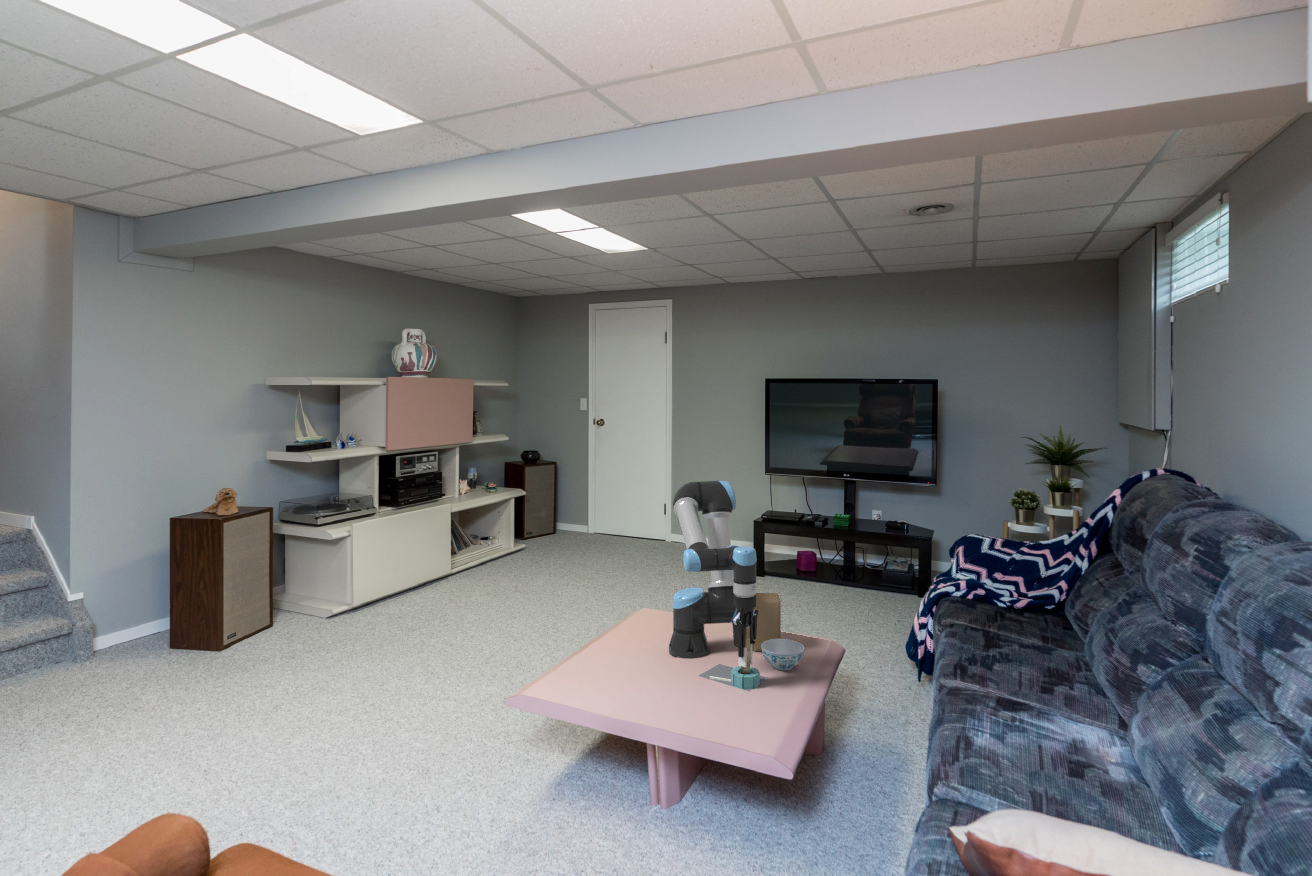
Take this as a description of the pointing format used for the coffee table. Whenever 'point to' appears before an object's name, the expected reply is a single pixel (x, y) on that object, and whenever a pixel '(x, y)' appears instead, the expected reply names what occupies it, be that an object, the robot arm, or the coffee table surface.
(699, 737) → the coffee table surface
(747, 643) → the wooden rod
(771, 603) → the wooden block
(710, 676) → the white stick
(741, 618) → the robot arm
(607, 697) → the coffee table surface
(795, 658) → the chinaware
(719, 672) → the mat
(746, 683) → the bead
